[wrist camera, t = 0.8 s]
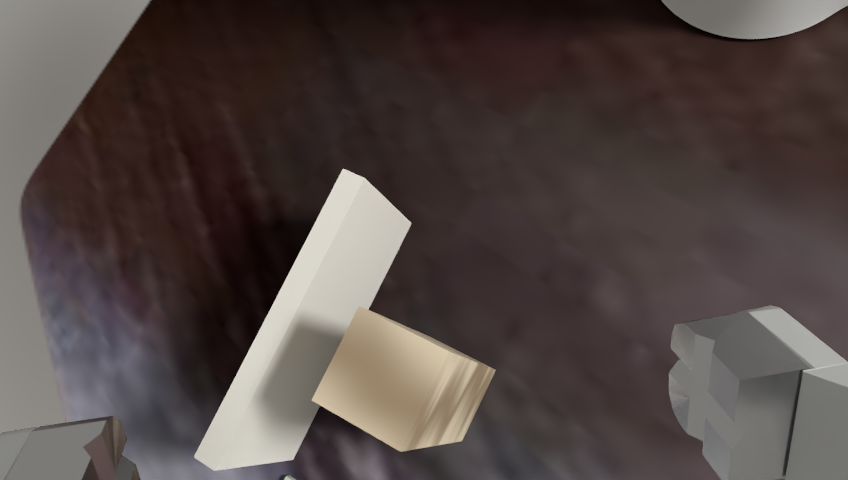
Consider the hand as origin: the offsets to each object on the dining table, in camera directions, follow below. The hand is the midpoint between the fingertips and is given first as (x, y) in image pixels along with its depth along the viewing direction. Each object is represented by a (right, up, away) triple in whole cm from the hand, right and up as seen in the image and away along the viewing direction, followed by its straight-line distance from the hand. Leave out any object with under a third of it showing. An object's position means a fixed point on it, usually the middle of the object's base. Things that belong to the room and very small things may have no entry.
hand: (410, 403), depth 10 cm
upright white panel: (-5, -4, +38) cm, 39 cm away
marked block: (+2, -7, +36) cm, 36 cm away
